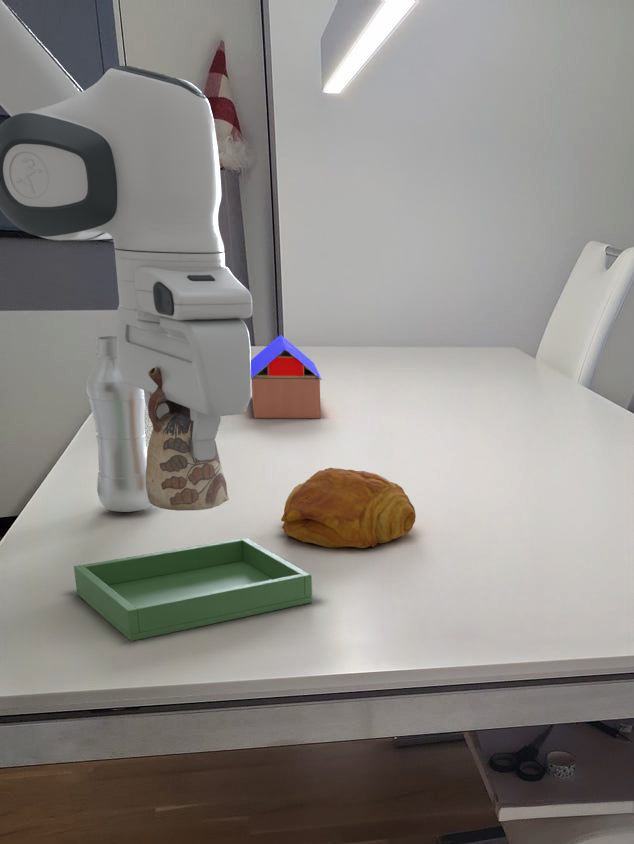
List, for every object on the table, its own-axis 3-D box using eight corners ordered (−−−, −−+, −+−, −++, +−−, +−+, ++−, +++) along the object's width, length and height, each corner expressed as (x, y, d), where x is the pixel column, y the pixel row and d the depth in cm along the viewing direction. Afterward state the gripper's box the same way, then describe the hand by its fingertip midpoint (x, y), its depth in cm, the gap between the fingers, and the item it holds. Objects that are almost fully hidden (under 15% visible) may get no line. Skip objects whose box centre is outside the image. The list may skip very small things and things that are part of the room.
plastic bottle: (169, 509, 125) (156, 338, 117) (123, 521, 119) (107, 343, 112) (132, 500, 128) (117, 332, 120) (87, 511, 123) (68, 337, 115)
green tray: (130, 641, 88) (127, 610, 87) (76, 594, 98) (73, 565, 97) (312, 602, 98) (311, 574, 97) (247, 563, 108) (245, 537, 107)
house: (252, 418, 178) (249, 348, 173) (250, 397, 196) (247, 334, 191) (322, 418, 180) (321, 349, 176) (314, 398, 198) (313, 335, 194)
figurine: (238, 506, 93) (232, 370, 88) (159, 514, 90) (148, 373, 85) (214, 487, 99) (206, 358, 94) (138, 494, 95) (126, 361, 91)
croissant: (331, 524, 129) (324, 460, 127) (436, 530, 121) (430, 461, 119) (252, 550, 117) (243, 479, 115) (362, 557, 109) (354, 482, 107)
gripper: (92, 277, 93) (107, 431, 98) (186, 298, 78) (198, 478, 83) (160, 277, 96) (171, 425, 102) (262, 297, 82) (269, 469, 87)
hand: (184, 449), depth 92 cm, fingers closed on figurine, 6 cm apart
